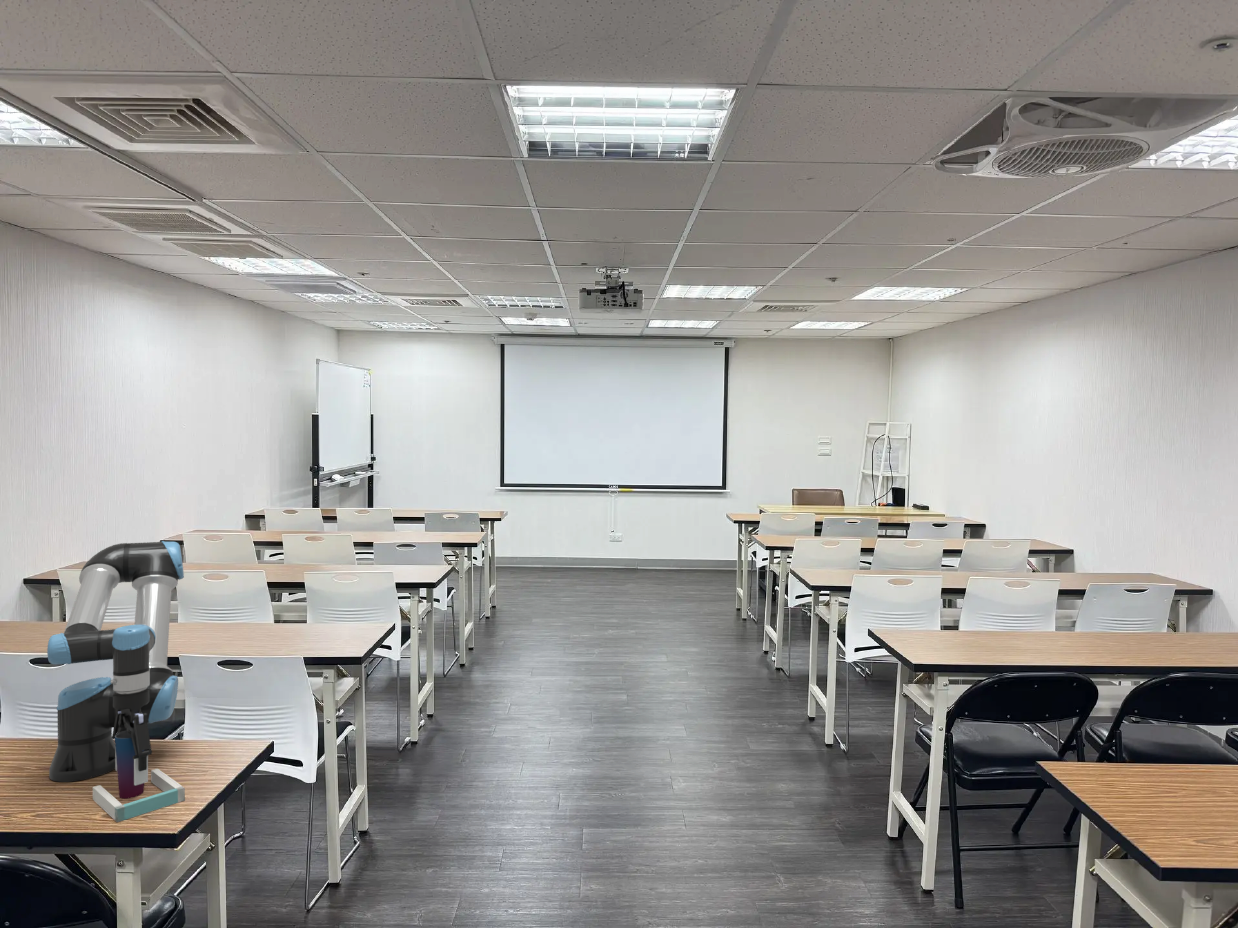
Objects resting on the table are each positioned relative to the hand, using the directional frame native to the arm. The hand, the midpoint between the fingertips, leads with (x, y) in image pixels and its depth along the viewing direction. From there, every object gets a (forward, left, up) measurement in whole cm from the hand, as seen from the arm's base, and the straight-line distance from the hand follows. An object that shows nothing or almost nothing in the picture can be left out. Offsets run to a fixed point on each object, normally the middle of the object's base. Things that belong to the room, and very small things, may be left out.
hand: (131, 776), depth 179 cm
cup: (0, 0, -5) cm, 5 cm away
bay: (+5, 0, -5) cm, 7 cm away
